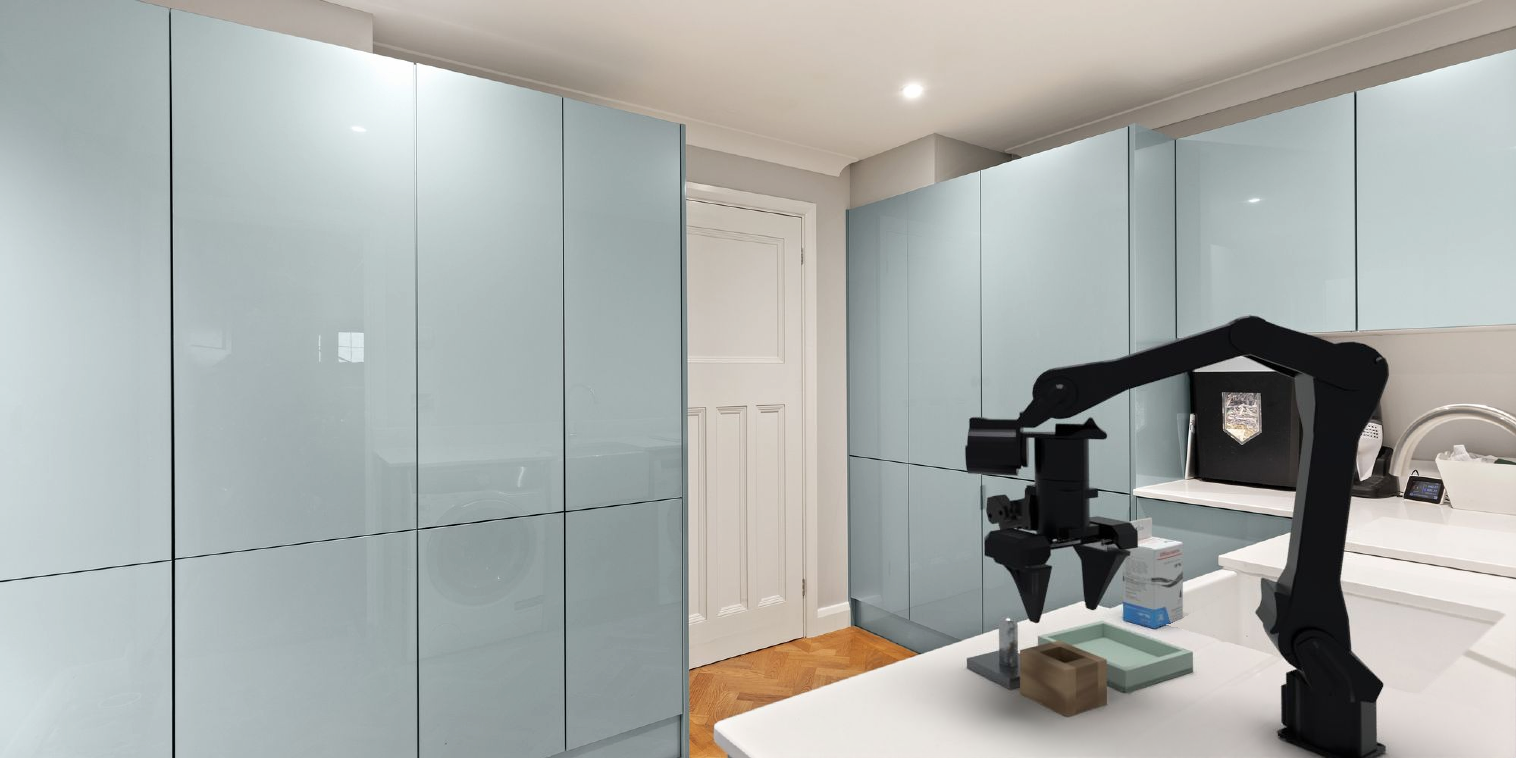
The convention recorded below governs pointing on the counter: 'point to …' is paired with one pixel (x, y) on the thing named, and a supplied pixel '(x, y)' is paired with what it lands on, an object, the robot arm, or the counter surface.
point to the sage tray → (1127, 654)
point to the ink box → (1153, 579)
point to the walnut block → (1063, 677)
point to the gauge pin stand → (1001, 657)
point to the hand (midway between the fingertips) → (1063, 615)
